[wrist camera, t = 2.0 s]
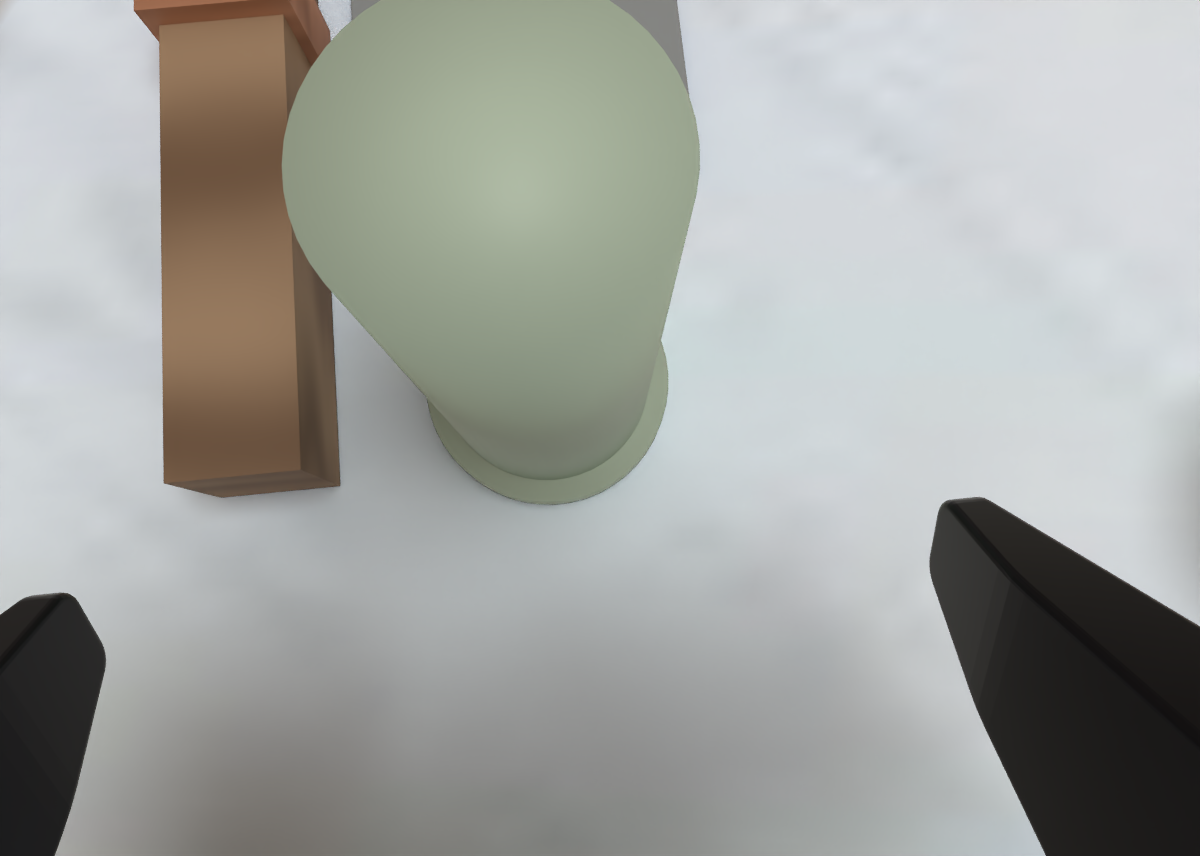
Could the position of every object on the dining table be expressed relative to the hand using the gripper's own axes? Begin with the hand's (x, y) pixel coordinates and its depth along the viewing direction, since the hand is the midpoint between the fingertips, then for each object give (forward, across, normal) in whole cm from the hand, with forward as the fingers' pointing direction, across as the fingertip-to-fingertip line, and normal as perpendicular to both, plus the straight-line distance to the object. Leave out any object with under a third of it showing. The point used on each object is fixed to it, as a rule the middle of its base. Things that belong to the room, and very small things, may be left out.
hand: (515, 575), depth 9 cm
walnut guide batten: (+16, +7, +2) cm, 18 cm away
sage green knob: (+13, 0, +6) cm, 14 cm away
